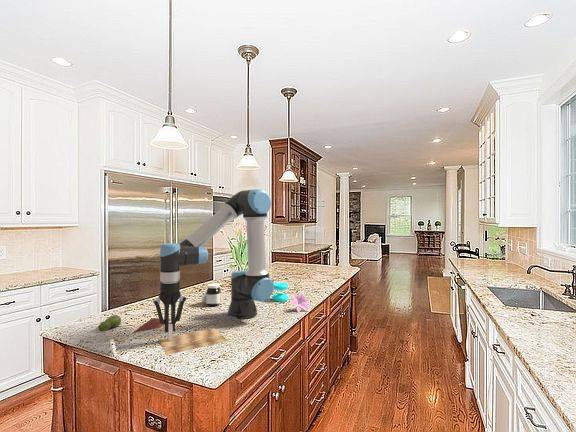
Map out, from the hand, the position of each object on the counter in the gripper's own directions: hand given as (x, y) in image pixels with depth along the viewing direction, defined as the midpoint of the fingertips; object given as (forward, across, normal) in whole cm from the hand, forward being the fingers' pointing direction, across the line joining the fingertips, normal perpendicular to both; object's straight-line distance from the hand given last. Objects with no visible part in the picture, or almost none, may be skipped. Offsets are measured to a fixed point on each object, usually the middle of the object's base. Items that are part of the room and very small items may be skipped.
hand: (169, 339), depth 132 cm
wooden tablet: (+3, +4, -23) cm, 24 cm away
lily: (+2, -71, -9) cm, 72 cm away
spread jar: (+2, -34, -47) cm, 58 cm away
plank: (+1, -8, +1) cm, 8 cm away
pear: (+2, +19, -34) cm, 39 cm away
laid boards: (+2, -8, +9) cm, 12 cm away
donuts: (+2, -73, -33) cm, 80 cm away
